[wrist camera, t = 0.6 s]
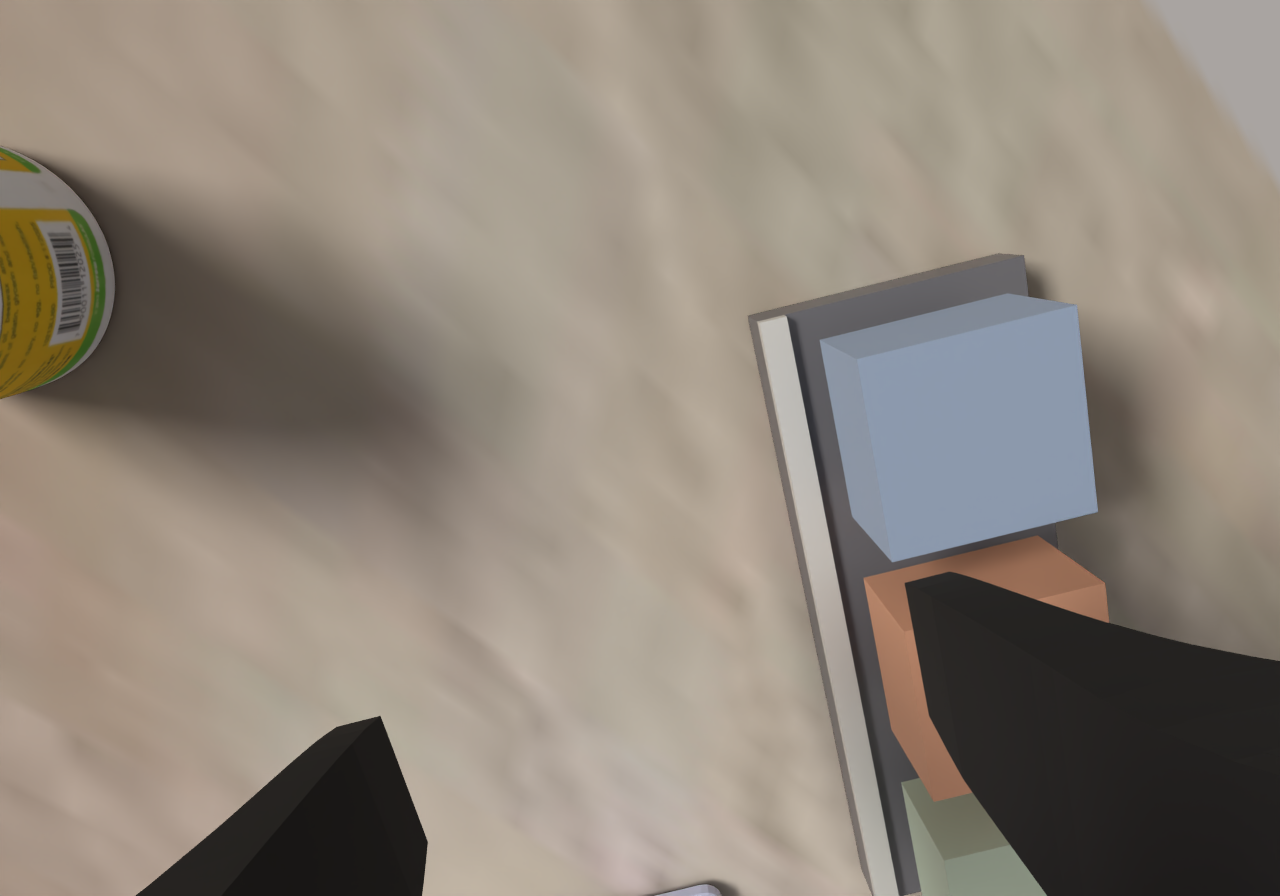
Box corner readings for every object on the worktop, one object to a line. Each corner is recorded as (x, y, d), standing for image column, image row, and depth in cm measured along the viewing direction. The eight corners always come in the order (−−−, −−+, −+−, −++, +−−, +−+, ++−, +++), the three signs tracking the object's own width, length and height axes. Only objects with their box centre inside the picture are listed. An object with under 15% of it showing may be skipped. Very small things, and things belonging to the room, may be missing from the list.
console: (1069, 819, 24) (1099, 858, 22) (861, 869, 24) (878, 910, 22) (998, 253, 20) (1030, 255, 18) (747, 315, 20) (759, 323, 18)
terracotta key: (1056, 689, 20) (1122, 756, 17) (891, 729, 20) (933, 802, 18) (1037, 535, 19) (1104, 583, 16) (863, 577, 19) (904, 631, 16)
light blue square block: (1029, 473, 19) (1098, 512, 16) (852, 516, 19) (892, 562, 16) (1008, 293, 18) (1077, 304, 15) (819, 339, 18) (856, 359, 15)
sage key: (1079, 877, 21) (1143, 963, 19) (925, 913, 21) (969, 1005, 19) (1063, 743, 20) (1128, 816, 18) (901, 782, 20) (944, 860, 18)
